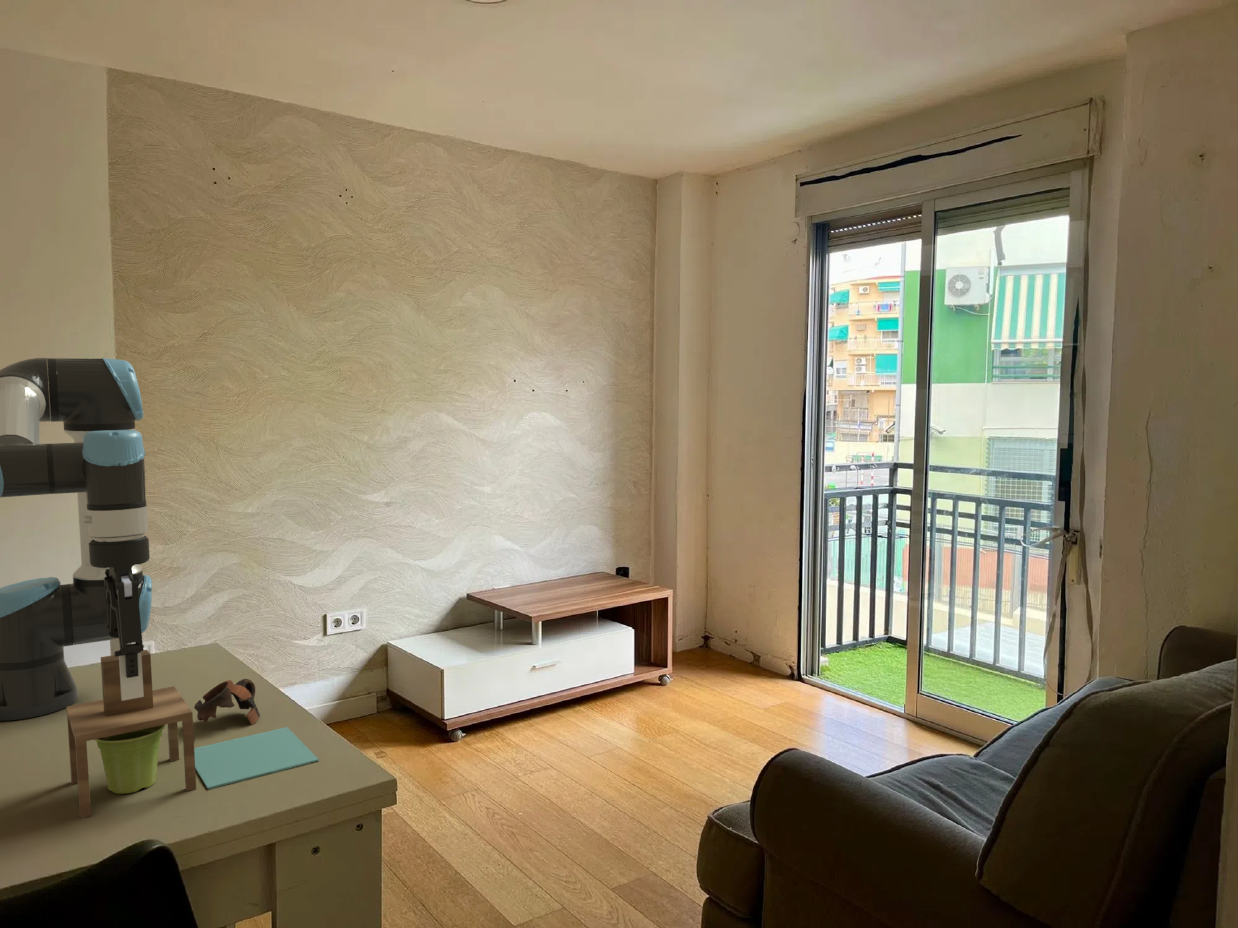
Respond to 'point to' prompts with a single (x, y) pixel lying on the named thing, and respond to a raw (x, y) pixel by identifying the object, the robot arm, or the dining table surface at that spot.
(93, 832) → the dining table surface
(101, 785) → the dining table surface
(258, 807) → the dining table surface
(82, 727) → the brown piece
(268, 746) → the teal mat
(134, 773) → the plant pot
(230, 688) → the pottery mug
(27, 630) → the robot arm
